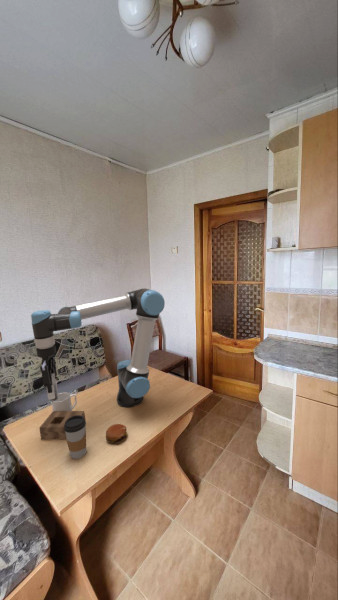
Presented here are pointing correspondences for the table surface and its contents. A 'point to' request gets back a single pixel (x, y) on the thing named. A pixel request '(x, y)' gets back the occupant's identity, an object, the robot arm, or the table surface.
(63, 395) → the mug
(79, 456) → the coffee cup
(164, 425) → the table surface
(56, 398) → the pin
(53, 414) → the socket block
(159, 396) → the table surface
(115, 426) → the burger
